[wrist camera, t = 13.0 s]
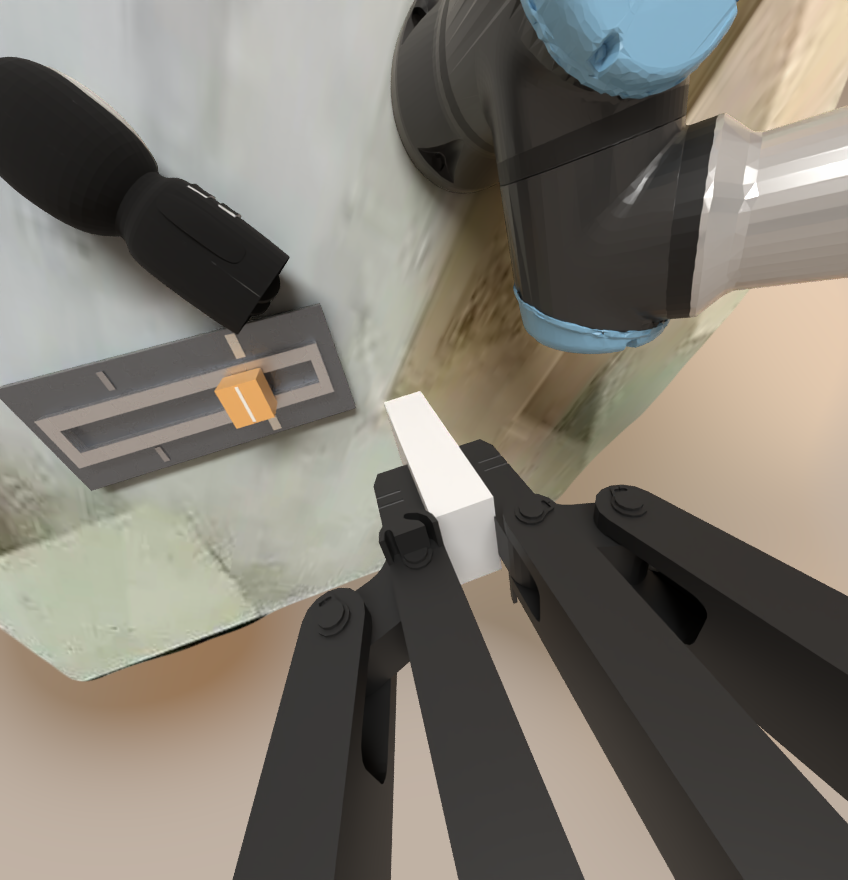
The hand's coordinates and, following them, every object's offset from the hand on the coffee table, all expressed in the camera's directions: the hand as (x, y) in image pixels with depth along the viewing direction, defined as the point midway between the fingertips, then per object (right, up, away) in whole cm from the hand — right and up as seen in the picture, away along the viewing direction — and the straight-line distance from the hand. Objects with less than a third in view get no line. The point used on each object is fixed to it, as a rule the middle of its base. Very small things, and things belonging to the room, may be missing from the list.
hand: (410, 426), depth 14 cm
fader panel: (-25, +5, +25) cm, 36 cm away
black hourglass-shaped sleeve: (-23, +20, +18) cm, 35 cm away
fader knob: (-19, +6, +25) cm, 32 cm away
